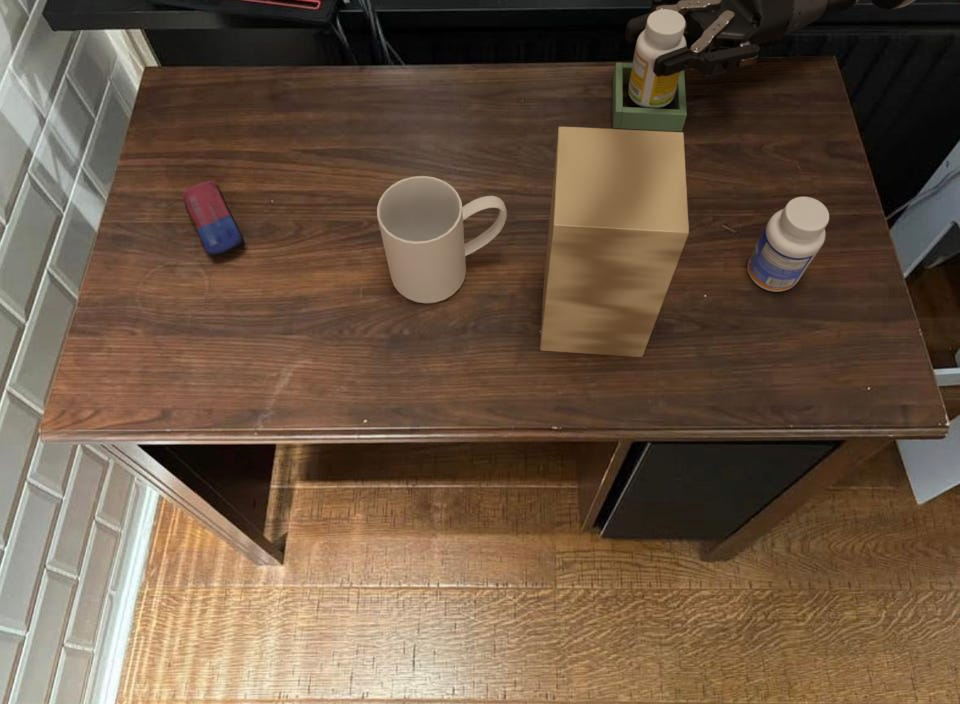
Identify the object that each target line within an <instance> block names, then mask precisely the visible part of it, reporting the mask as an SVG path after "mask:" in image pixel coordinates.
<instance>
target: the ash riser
mask: <svg viewBox="0 0 960 704" xmlns="http://www.w3.org/2000/svg"><path fill="white" fill-rule="evenodd" d="M685 150H686V149H685V135H684V132H683V131H661V130H640V129H620V128H603V127H602V128H601V127H600V128H599V127H579V126H558V127H557V139H556V149H555V159H554V169H553V178H552V188H551V198H550V209H549V210H550V211H549V219H548V228H547V238H546V247H545V248H546V249H545V257H544V268H543V269H544V271H543V287H542V288H543V289H542V305H541V306H542V307H541V308H542V309H541V324H540V325H541V326H540V343H539V344H540V346H539V350H540V351H541V352H556V353H557V352H558V353H571V354H586V355H587V354H588V355H601V356H616V357H617V356H618V357H632V358H643V357H644V354H645V352H646V348H647V346H648V344H649V341H650V338H651V335H652V332H653V330H654V327H655V324H656V322H657V319H658V318H659V314H660V312H661V308H662V306H663V303H664V302H665V301H664V300H665V298H666V294H667V293H668V289H669V287H670V285H671V282H672V279H673V277H674V274H675V271H676V268H677V266H678V263H679V260H680V258H681V255H682V253H683V250H684V247H685V244H686V242H687V239H688V237H689V233H690V224H689V222H690V221H689V207H688V206H689V205H688V190H687V189H688V188H687V171H686V169H687V168H686V151H685Z"/></svg>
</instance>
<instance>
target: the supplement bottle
mask: <svg viewBox="0 0 960 704" xmlns="http://www.w3.org/2000/svg"><path fill="white" fill-rule="evenodd" d="M685 23H686V19H685V16H684V17H683V16H682V15H681V14H680V13H678V12H676V11H673V10H668V9H662V10H657V11H655V12H653V13H651V14H650V15H649V17H648V19H647V23H646V28H645V30H644V31H643V32H642V33H641V34H640V35H639V37H638V39H637V40H636V43H635V48H634V54H633V58H632V59H633V60H632V63H633V65H632V71H631V76H630V82H629V85H628V96H629V98H630V99H631V101H632V102H633V103H634V104H635V105H637V106H639V107H640V108H655V109H662V108H664V107H666V106H668V105H669V104H671V102H672V101H674V99H673V98H674V96H675V92H676V89H677V85H678V80H679V76H680V72H681V71H680V72H678V73H675V74H672V75H670V76H660V77H657V76H656V75H655V74H654V72H653V68H654V64H655V60H656V58H657V57H658V56H660V55H663V54H666V53H669V52H671V51H674V50H677V49H680V48H682V47H685V46H687V39H686V37H685V35H684V34H683V33H684V28H685Z"/></svg>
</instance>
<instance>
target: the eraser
mask: <svg viewBox="0 0 960 704" xmlns="http://www.w3.org/2000/svg"><path fill="white" fill-rule="evenodd" d="M182 200H183V202H184V205H185V207H186V209H187V211H188V214H189V216H190V218H191V220H192V222H193V224H194V227H195V229H196V232H197V233H198V236H199V238H200V240H201V243H202V244H203V246H204V249H205V251H206V252H207V254H208V256H209V257H210V258H211V259H212V260H217V259H219V258H222V257H224V256H227V255H229V254H231V253H233V252H235V251H237V250H240V249H242V248H243V247H244V246H245V245H246V242H245V240H244V236H243V235H242V232H241V229H240V228H239V225H238V223H237V222H236V220H235V218H234V216H233V214H232V212H231V210H230V208H229V206H228V204H227V202H226V200H225V198H224V196H223V194H222V192H221V189H220V186H219V185H218V184H217V182H215V181H214V180H206V181H203V182H201V183H198V184H195V185H193V186H190V187H188V188H187V189H185V190H184V191H183V193H182Z"/></svg>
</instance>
